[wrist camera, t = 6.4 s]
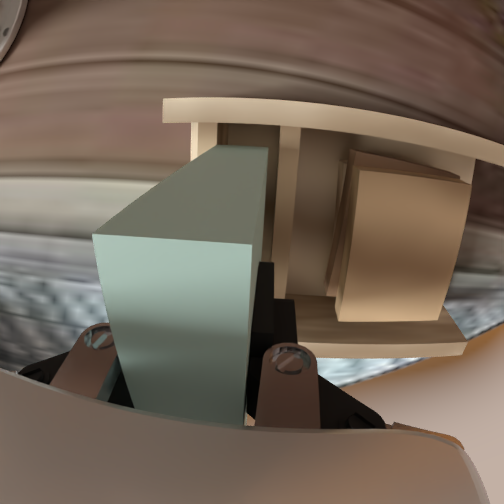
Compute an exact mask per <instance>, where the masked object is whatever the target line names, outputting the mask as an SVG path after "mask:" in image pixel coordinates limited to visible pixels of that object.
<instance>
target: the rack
mask: <svg viewBox="0 0 504 504" xmlns="http://www.w3.org/2000/svg"><path fill="white" fill-rule="evenodd" d="M183 122H191V161H192V160H194V159H195V158H197V157H198V156H200V155H201V154H203V153H205V152H206V151H208V150H209V149H211V148H212V147H214V146H215V145H238V146H258V147H268V163H267V179H266V195H265V211H264V226H263V241H262V256H261V262H274V298H280V299H294V302H295V313H296V326H297V339H298V344H299V345H302V346H304V347H306V348H308V349H309V350H310V351H312V353H313V354H314V355H315V357H317V358H416V357H437V356H453V355H462V353H463V351H464V349H465V346H466V345H467V340H466V338H465V337H464V335H463V334H462V332H461V331H460V329H459V328H458V326H457V325H456V323H455V322H454V320H453V319H452V318H451V316H450V315H449V313H448V312H447V310H446V309H445V307H444V306H442V309H441V312H440V315H439V318H438V320H430V321H387V322H343V321H338V318H337V314H336V310H335V303H336V297H335V296H326V292H325V287H324V279H325V274H326V270H327V265H328V261H329V256H330V252H331V247H332V242H333V231H334V220H335V208H336V194H337V180H338V162H339V160H348V155H349V149H350V148H352V149H357V150H362V151H367V152H372V153H377V154H381V155H386V156H391V157H395V158H399V159H404V160H408V161H412V162H416V163H420V164H424V165H428V166H432V167H435V168H439V169H443V170H446V171H449V172H452V173H454V174H456V175H459V176H460V180H462V181H464V182H466V183H468V184H470V185H471V183H472V178H473V172H474V166H475V159H480V160H483V161H487V162H490V163H494V164H497V165H500V166H503V167H504V145H502V144H499V143H496V142H493V141H490V140H487V139H484V138H481V137H478V136H474V135H471V134H468V133H464V132H461V131H457V130H454V129H450V128H446V127H443V126H439V125H435V124H431V123H427V122H422V121H418V120H414V119H409V118H404V117H400V116H395V115H390V114H384V113H379V112H373V111H368V110H362V109H355V108H349V107H342V106H334V105H326V104H318V103H308V102H298V101H286V100H272V99H254V98H169V99H163V123H183Z"/></svg>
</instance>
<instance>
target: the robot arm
mask: <svg viewBox="0 0 504 504" xmlns="http://www.w3.org/2000/svg"><path fill="white" fill-rule="evenodd" d="M27 2H28V0H0V61H1V60H2V59H3V57H4V56H5V54H6V53H7V51H8V50H9V48H10V46H11V44H12V42H13V41H14V39H15V37H16V35H17V32H18V30H19V28H20V26H21V23H22V20H23V17H24V14H25V10H26V6H27ZM246 404H247V407H246V412H247V413H248V414H249V415H250V416H251V417H252V418H253V419H255V426H246V425H235V424H225V423H217V422H209V421H202V420H194V419H188V418H181V417H175V416H169V415H164V414H158V413H153V412H148V411H143V410H138V409H135V408H134V405H133V402H132V399H131V396H130V393H129V390H128V387H127V384H126V381H125V377H124V374H123V371H122V368H121V364H120V361H119V357H118V354H117V350H116V347H115V343H114V339H113V335H112V331H111V327H110V323H99V324H95V325H93V326H90V327H89V328H87V329H86V330H85V331H84V332H83V333H82V334H81V335H80V337H79V338H78V340H77V342H76V343H75V345H74V346H73V348H72V349H71V351H69V352H66V353H63V354H61V355H58V356H55V357H52V358H49V359H46V360H43V361H40V362H37V363H34V364H31V365H29V366H27V367H25V368H23V369H22V370H21V371H20V372H19V373H17V371H8V370H5V369H2V368H0V504H490V502H489V499H488V496H487V493H486V490H485V487H484V485H483V482H482V480H481V478H480V475H479V473H478V471H477V469H476V468H475V466H474V464H473V462H472V461H471V459H470V457H469V456H468V455H467V453H466V452H465V451H464V447H463V446H462V444H461V442H460V441H459V440H457V439H456V438H455V437H452V436H450V435H446V434H441V433H437V432H432V431H428V430H424V429H420V428H416V427H411V426H408V425H404V424H400V423H396V422H394V423H393V424H392V425H389V424H385V422H384V420H383V419H382V418H381V416H380V415H379V414H377V413H376V412H375V411H373V410H372V409H370V408H369V407H367V406H365V405H364V404H362V403H361V402H359V401H358V400H356V399H355V398H353V397H352V396H350V395H348V394H347V393H345V392H344V391H342V390H341V389H339V388H338V387H336V386H335V385H333V384H332V383H330V382H329V381H327V380H326V379H324V378H323V377H321V376H320V375H318V371H317V360H316V357H315V355H314V354H313V353H312V351H310V350H309V349H308V348H306V347H304V346H302V345H299V344H298V339H297V326H296V313H295V302H294V299H280V298H274V262H261V261H259V265H258V273H257V283H256V292H255V301H254V309H253V318H252V327H251V339H250V355H249V371H248V387H247V403H246Z"/></svg>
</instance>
